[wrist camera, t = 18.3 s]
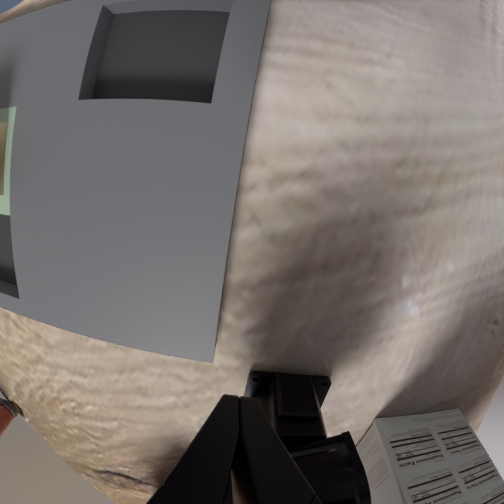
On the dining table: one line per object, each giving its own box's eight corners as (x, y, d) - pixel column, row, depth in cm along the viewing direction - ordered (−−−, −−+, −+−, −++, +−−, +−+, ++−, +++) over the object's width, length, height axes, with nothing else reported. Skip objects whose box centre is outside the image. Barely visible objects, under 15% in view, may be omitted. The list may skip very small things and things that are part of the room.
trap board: (215, 345, 21) (212, 363, 19) (-22, 284, 19) (-34, 292, 17) (269, 6, 14) (272, -9, 12) (-10, 38, 12) (-24, 34, 10)
